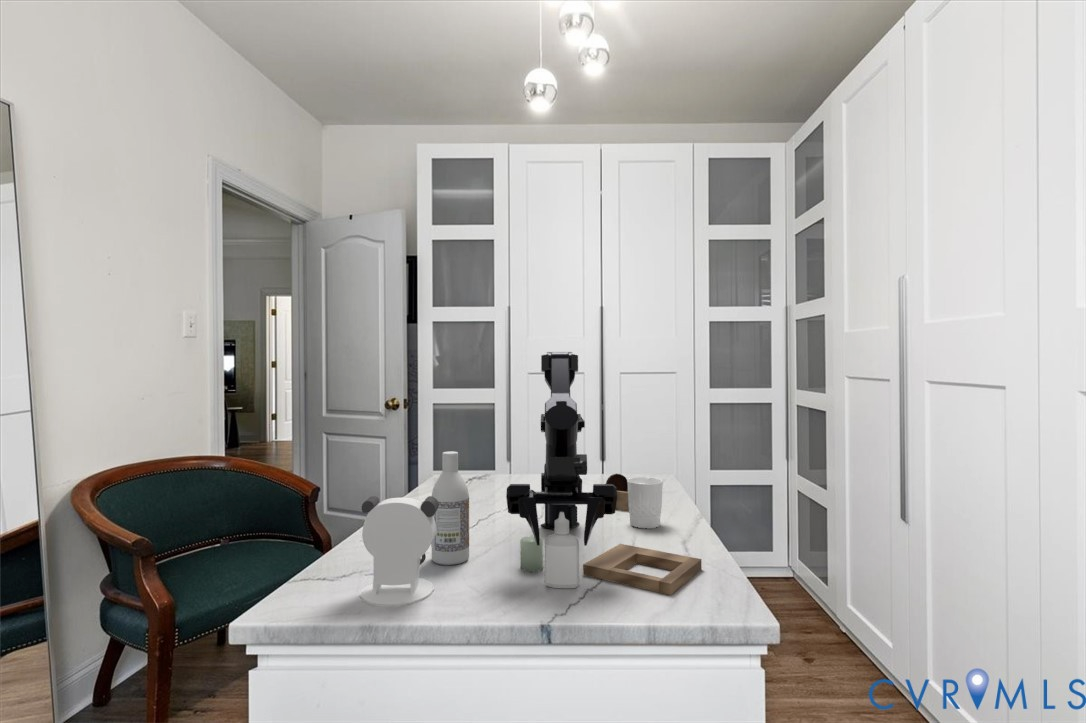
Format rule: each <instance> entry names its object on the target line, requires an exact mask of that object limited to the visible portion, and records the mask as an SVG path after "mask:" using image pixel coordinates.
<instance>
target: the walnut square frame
mask: <svg viewBox="0 0 1086 723" xmlns="http://www.w3.org/2000/svg"><path fill="white" fill-rule="evenodd" d="M636 564H639V565H643V566H648V567H652V568H659V569H663V570H668V571H670V572H669V573H667V575H664V576H663V577H659V576H655V575H649V574H646V573H645V574H644V573H640V572H635V571H631V570H628V569H630V568H631V567H632V566H635V565H636ZM701 570H702V558H697V557H692V556H687V555H681V554H676V553H672V552H671V553H670V552H668V551H667V552H666V551H661V550H655V549H649V548H644V547H640V546H633V545H630V544H629V545H628V544H624V543H619V544H617V545H615V546H613V547H612V548H610V549H608V550H606V551H605V552H602V553H601V554H599V555H597V556H595V557H594V558H592V559H590V560H588V561H586V562H584V563H583V564H582V575H583V576H587V577H590V578H596V579H599V580H605V581H608V582H613V583H617V584H621V585H626V586H630V587H635V588H638V589H643V590H648V591H652V592H656V593H660V594H665V595H668V596H672V595H673V594H674V593H675V592H676V591H677V590H679V589H680V588H681V587H682V586H683V585H685V584H686V583H687V582H689V580H690V579H692V578H693V577H694V576H695V575H697V574H698V573H699V572H701Z"/></svg>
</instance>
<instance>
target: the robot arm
mask: <svg viewBox="0 0 1086 723" xmlns="http://www.w3.org/2000/svg"><path fill="white" fill-rule="evenodd" d="M540 357H541V358H540V360H541V362H540V365H541V367H540V369H541V373H544V382H545V383H546V385H547V386H548V388H549V390H550V398H548V399H547V401H545V403H544V413H541V414H540V431H541V433H544V437H545V441H546V443H545V463H544V468H543V469H544V472H541V473H540V477H541V478H540V482H541V483H540V484H541V485H540V491H535V490H533V489H531V484H530V483H510V484H509V485H508V486H507V487H506V493H505V494H506V496H505V498H506V505H507V513H509V514H511V515H518V516H519V517H520V518H522V519H525V520H526V522H527V524H528V526H529V527H530V529H531V531H532V535H533V537H534V538H535V541H536V544H537V546H539V545H540V538H541V537H540V534H541V533H540V528H539V526H540V527H541V528H545V529H550V530H554V531H555V520H556V519H558V518H559V514H560V512H564V515H565V518H566V519H567V520H569V530H571V529H573V528H576V527H578V526H580V522H578V506H577V505H586V513H585V515H586V516H585V522H584V523H585V524H584V530H583V531H584V532H583V533H584V535H583V545H584V546H585V547H587V546H588V543H589V540H590V537H591V534H592V530H593V528H594V527H595V524H596V523H597V521H598V519H603V518H604V517H605V515H614V514H615V513H616V511H617V509H616V503H617V489H616V487H615V486H614V485H613V484H606V483H603V484H602V483H594V484H593V486H592V492H591V491H590V492H588V491H587V492H583V479H582V478H581V476H586V475H588V455H587V454H578V451H577V450H578V449H577V448H578V447H577V442H578V433H582V429H583V428H586V425H585V424H586V422H585V420H584V419H583V417H582V416H581V413H578V406H577V402H576V401H575V400H574V399H573V398H572V397H571V386H572V385H573V383H574V382H575V377H576V373H577V372H579V355H577V354H575V353H574V354H573V352H572V351H547V352H546V354H541V355H540ZM580 475H581V476H580ZM541 504H542V505H544V523H542V524H540V525H539V517H538V509H537V505H541Z"/></svg>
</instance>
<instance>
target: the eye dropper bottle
mask: <svg viewBox="0 0 1086 723" xmlns="http://www.w3.org/2000/svg"><path fill="white" fill-rule="evenodd" d="M544 583H545V586H546V587H548V588H554V589H562V590H563V589H574V588H575V589H576V588H578V587H579V584H580V541H579V538H578V537H577V536H575V535H574V534H570V529H569V520H567V519H566V518H565V515H564V512H560V514H559V518H558V519H556V520H555V530H554V533H553V534H549V535H548V536H546V538H545V541H544Z"/></svg>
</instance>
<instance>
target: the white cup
mask: <svg viewBox="0 0 1086 723" xmlns="http://www.w3.org/2000/svg"><path fill="white" fill-rule="evenodd" d="M627 486H628V506H629V511H628V513H629V524H630V526H631V527H633V526H634V528H637V527H638V528H637V529H645V528H647V529H656V527H657V528H659V527H660V526H661V514H662V506H663V505H662V504H663V480H662V479H660V478H656V477H652V476H651V477H650V476H647V477H646V476H639V477H638V476H637V477H630V478H627Z"/></svg>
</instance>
